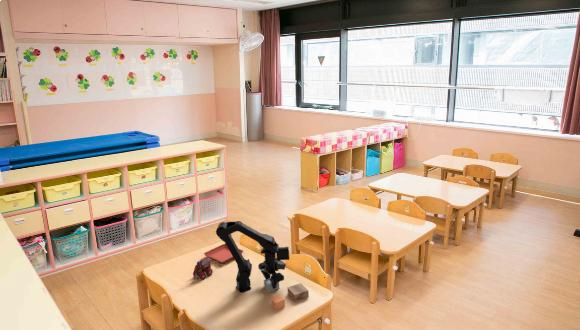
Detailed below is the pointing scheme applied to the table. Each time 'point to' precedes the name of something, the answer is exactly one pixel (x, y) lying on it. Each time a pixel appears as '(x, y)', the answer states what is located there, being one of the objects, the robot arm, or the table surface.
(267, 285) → the grey block
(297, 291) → the walnut base
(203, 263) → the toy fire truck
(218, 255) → the red square tray
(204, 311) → the table surface
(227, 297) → the table surface
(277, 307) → the terracotta block
